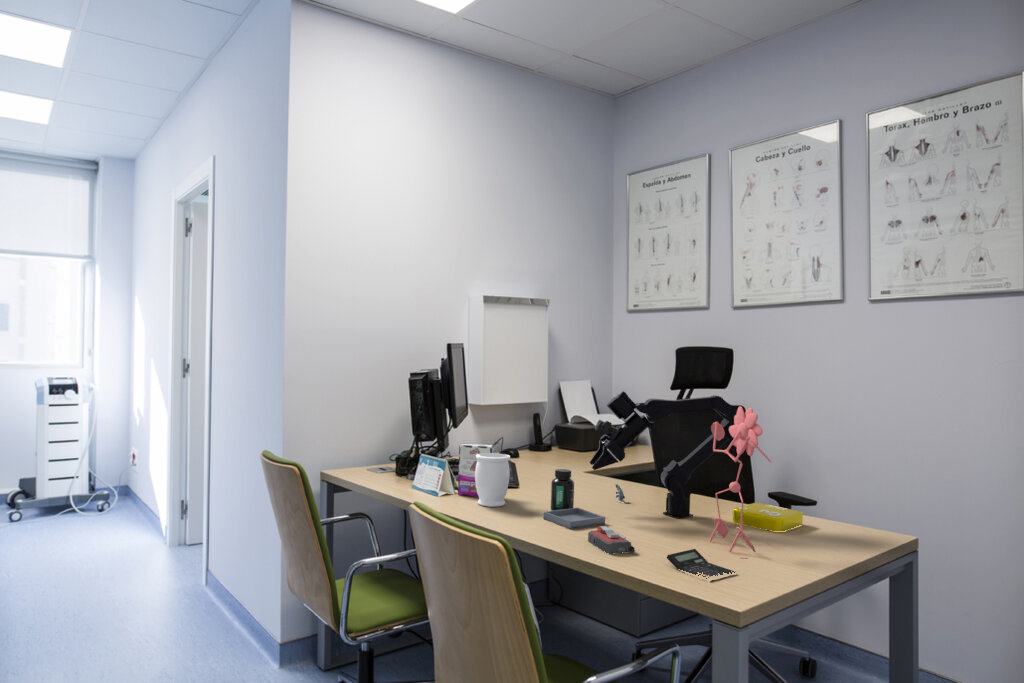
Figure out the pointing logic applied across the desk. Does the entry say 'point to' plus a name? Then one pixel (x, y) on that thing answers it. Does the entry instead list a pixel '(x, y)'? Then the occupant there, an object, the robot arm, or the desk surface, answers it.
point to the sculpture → (620, 492)
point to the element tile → (768, 517)
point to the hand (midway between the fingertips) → (591, 466)
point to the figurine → (743, 439)
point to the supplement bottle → (562, 490)
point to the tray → (574, 518)
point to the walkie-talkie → (609, 540)
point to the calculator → (695, 563)
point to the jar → (492, 478)
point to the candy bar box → (470, 467)
